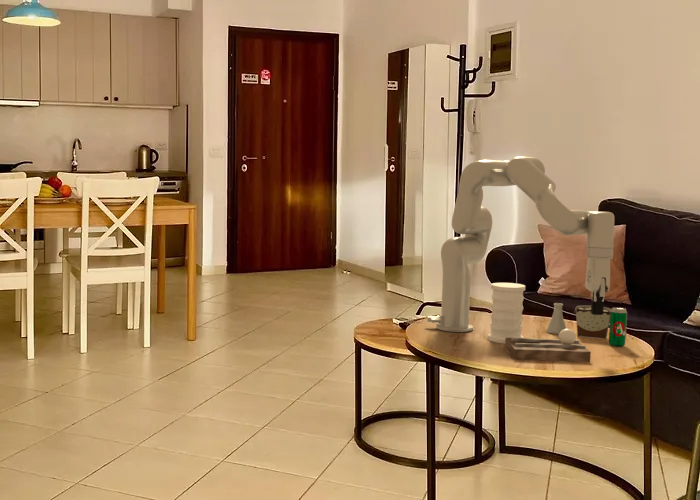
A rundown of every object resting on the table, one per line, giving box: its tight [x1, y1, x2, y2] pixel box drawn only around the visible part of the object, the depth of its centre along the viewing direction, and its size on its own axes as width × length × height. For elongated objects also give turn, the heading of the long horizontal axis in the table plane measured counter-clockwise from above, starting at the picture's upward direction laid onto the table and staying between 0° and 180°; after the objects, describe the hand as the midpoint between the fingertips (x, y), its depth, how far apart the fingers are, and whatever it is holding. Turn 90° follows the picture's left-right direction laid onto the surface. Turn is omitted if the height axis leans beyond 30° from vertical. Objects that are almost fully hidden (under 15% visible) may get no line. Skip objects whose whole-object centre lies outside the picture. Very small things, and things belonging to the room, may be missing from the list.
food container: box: [573, 304, 612, 340], centre depth 271 cm, size 12×6×10 cm, turn 71°
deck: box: [504, 337, 592, 363], centre depth 242 cm, size 22×16×4 cm
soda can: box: [608, 307, 628, 348], centre depth 257 cm, size 5×5×12 cm
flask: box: [545, 302, 567, 335], centre depth 275 cm, size 7×7×10 cm
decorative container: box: [487, 282, 526, 344], centre depth 260 cm, size 12×12×18 cm
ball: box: [558, 328, 577, 345], centre depth 241 cm, size 5×5×5 cm
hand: (597, 314), depth 240 cm, fingers closed
